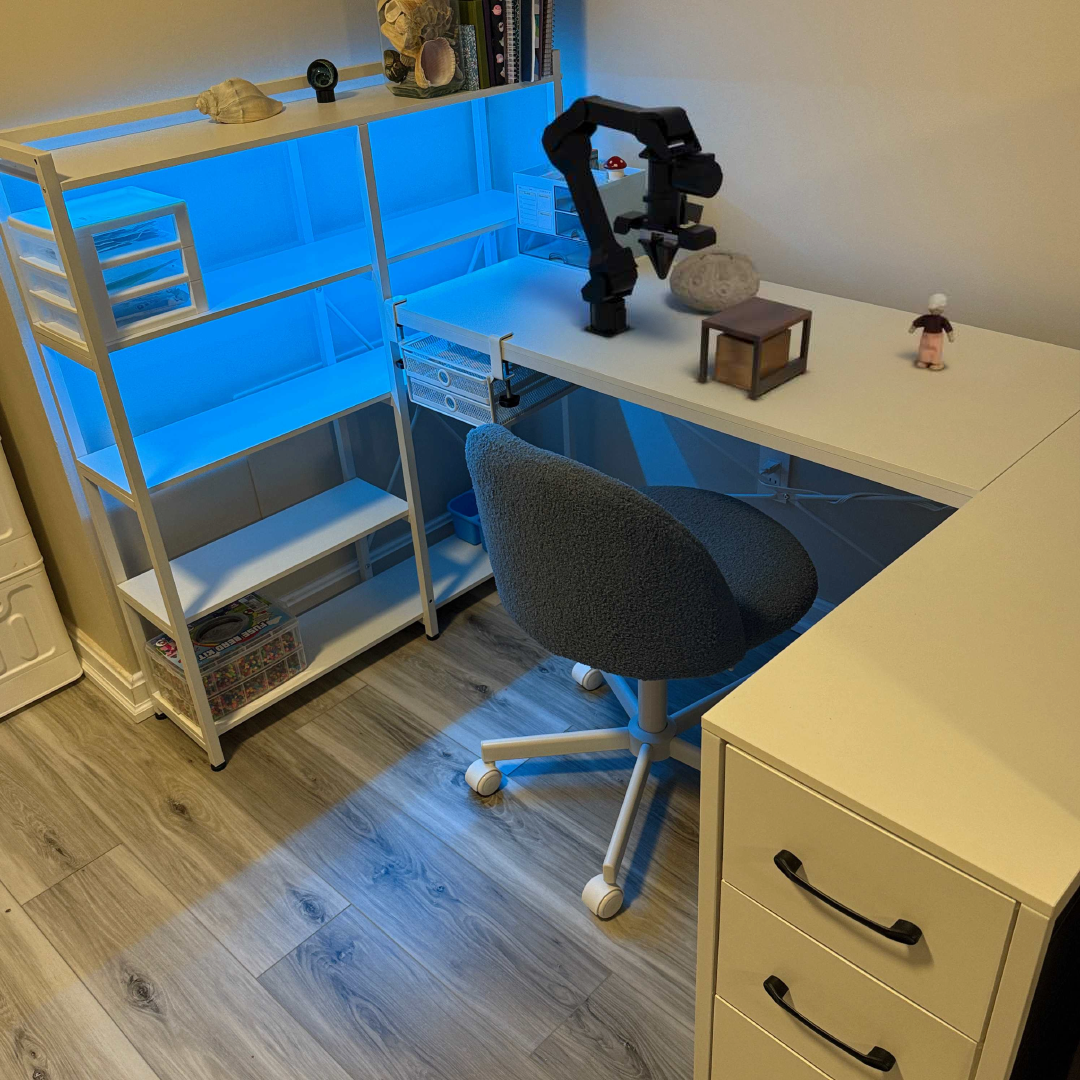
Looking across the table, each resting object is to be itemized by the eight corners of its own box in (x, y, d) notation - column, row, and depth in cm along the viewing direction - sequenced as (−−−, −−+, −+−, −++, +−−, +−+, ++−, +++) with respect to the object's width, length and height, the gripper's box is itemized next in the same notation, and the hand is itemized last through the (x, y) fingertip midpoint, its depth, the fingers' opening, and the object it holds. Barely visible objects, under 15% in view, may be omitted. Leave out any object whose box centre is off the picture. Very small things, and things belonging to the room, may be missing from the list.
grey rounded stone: (653, 310, 208) (654, 261, 203) (691, 284, 220) (693, 237, 215) (737, 325, 200) (741, 273, 194) (771, 296, 212) (775, 247, 207)
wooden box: (714, 379, 178) (716, 335, 174) (748, 362, 184) (752, 318, 180) (753, 392, 174) (756, 346, 169) (787, 373, 179) (791, 329, 175)
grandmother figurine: (951, 364, 180) (964, 292, 173) (948, 372, 177) (961, 300, 170) (904, 358, 183) (915, 288, 176) (901, 366, 180) (912, 295, 173)
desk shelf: (698, 382, 178) (701, 320, 172) (750, 355, 187) (755, 296, 181) (754, 400, 171) (759, 336, 165) (806, 372, 180) (812, 310, 174)
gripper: (738, 186, 175) (733, 278, 183) (652, 171, 186) (651, 258, 195) (697, 200, 168) (693, 294, 177) (611, 184, 180) (611, 273, 188)
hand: (662, 279), depth 184 cm, fingers closed
